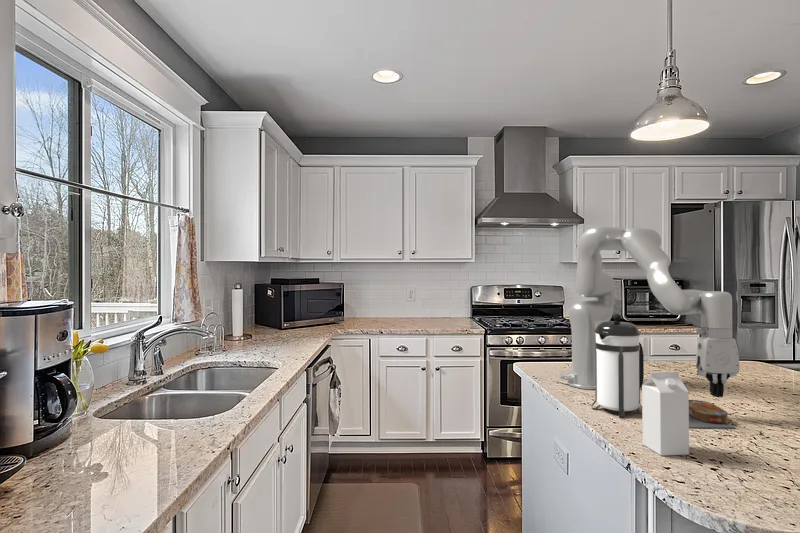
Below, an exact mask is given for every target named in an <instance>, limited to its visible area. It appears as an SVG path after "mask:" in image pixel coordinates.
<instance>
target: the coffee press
mask: <svg viewBox="0 0 800 533" xmlns="http://www.w3.org/2000/svg"><path fill="white" fill-rule="evenodd" d="M612 319H613V321H611V320H610V321H609V322H602V323H600V324H598V325H596V329H595V334H596V341H595V389H594V390H595V395H594V396H595V399H594V401H593V402H592V404H591V409H592V410H594V411H595V410H598V409H599V408H600V407H602V408H603V409H607V410H609V411H610V410H611V411H615V412H617V413H618V418H620V419H625V412H631V411H635V410H637V412H638V413H640V414H642V410H639V409H638V408H639V406H640V407H641V408H642V403H641V389H642V385H643V384H644V378H645V377H644V368H645V365H644V364H645V363H644V359H645V358H644V349H643V346H642V344H641V342H640V336H641V331H640V330H639V328H638V327H637V325H636V324H634V323H632V322H626V321H620V320H621V319H622V317H621V315H620V314H619V313H614V314H613V315H612ZM596 403H597V406H596V407H593V406H594V405H595V404H596Z"/></svg>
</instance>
